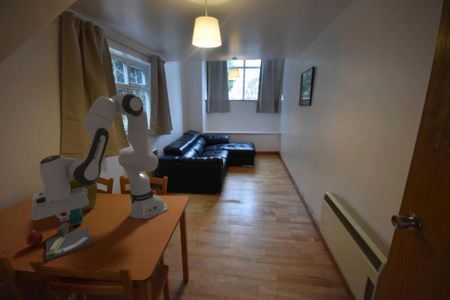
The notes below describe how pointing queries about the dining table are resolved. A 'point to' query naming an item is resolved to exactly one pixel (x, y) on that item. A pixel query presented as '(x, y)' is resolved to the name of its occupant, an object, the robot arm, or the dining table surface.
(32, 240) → the onion
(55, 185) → the robot arm
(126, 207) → the dining table surface
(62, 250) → the dial board
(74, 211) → the beverage bottle
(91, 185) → the flower pot
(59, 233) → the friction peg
